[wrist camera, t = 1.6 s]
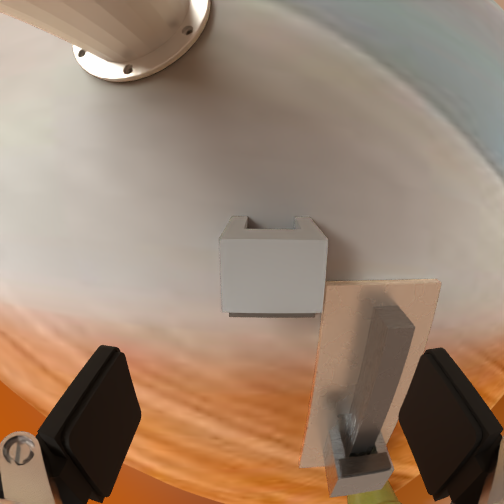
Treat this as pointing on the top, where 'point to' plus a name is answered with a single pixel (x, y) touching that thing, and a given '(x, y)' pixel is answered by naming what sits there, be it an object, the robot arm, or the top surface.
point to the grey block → (272, 269)
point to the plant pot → (375, 496)
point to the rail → (364, 377)
